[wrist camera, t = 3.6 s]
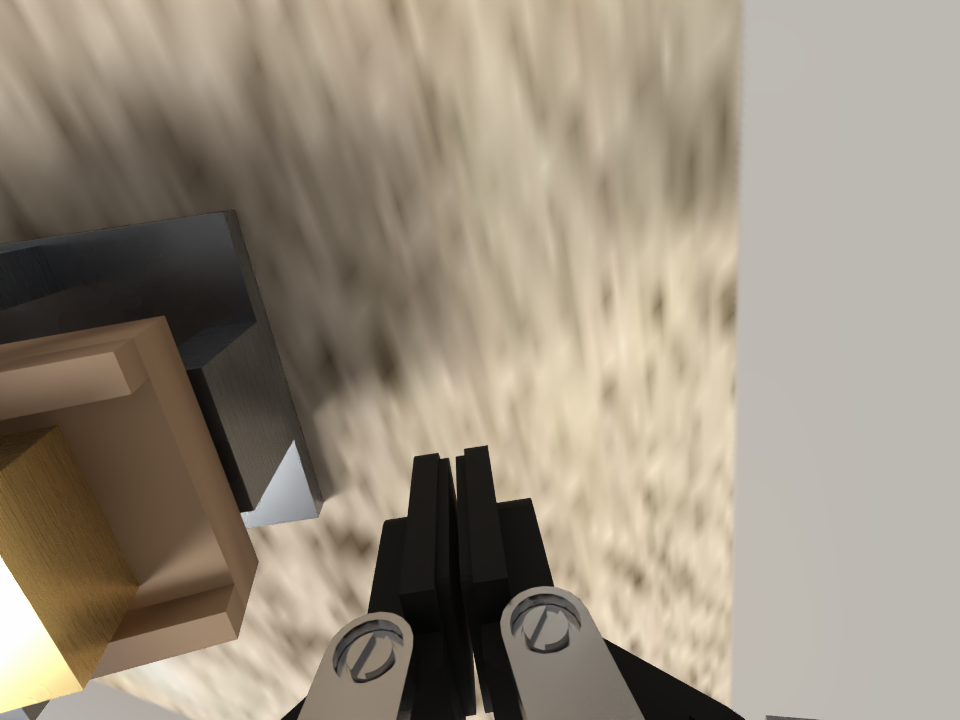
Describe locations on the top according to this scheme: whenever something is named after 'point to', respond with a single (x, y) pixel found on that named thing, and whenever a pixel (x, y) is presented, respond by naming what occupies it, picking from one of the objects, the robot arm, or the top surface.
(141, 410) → the beam
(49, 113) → the top surface
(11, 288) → the beam stand
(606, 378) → the top surface
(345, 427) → the top surface
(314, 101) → the top surface
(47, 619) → the brass block
